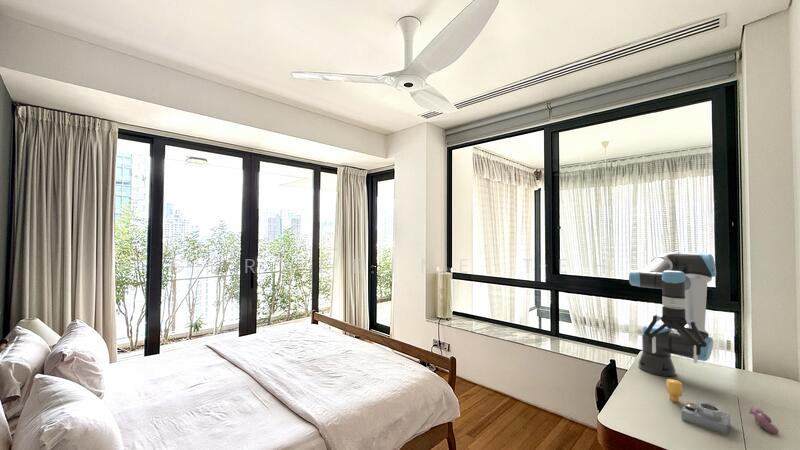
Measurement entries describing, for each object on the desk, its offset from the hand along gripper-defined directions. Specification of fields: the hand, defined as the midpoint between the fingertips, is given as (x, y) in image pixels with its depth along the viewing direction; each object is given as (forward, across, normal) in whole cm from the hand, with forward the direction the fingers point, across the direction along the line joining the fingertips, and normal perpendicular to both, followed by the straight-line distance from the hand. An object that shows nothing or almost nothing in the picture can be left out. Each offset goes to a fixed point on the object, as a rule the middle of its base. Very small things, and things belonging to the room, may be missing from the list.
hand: (674, 357), depth 135 cm
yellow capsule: (+18, 0, 0) cm, 18 cm away
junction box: (+18, +11, -11) cm, 24 cm away
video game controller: (+19, +25, +3) cm, 31 cm away
